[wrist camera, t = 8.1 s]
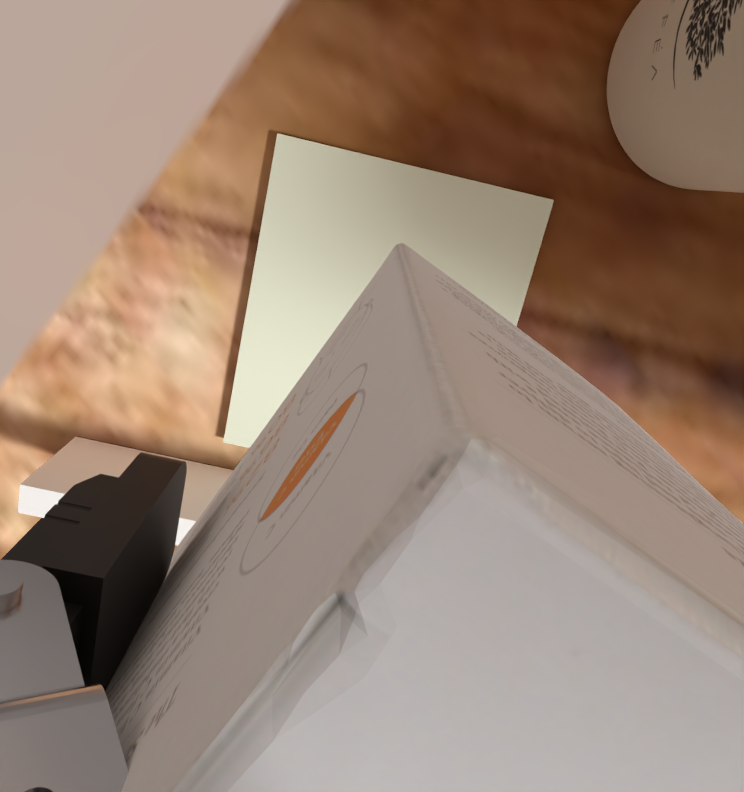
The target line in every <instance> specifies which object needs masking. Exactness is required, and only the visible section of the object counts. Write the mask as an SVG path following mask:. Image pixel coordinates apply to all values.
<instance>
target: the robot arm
mask: <svg viewBox="0 0 744 792" xmlns="http://www.w3.org/2000/svg"><path fill="white" fill-rule="evenodd" d="M186 472H187V464H186V462H185V461H180V460H176V459H171V458H166V457H162V456H157V455H152V454H148V453H143V452H141V453H139V454H138V455H137V457H136V458H135V459H134V460H133V461H132V462H131V464H130V465H129V466H128V467H127V468H126V469H125V471H124V472H123V473H122V474H121V475H120V476H119V477H114V476H109V475H104V474H99V475H96V476H94V477H92V478H89V479H87V480H84V481H82V482H80V483H77V484H75V485H74V486H73V487H72V488H71V489H70V490H69V491H68V492H67V493H66V494H65V495H64V496H63V497H62V498H61V499H60V500H59V501H58V504H55V505H54V506H53V507H52V508H51V509H50V510H49V511H48V512H47V513H46V514H45V517H44V518H41V519H40V520H39V521H38V522H37V523H36V524H35V525H34V526H33V527H32V528H31V529H30V530H29V531H28V532H27V534H26V535H25V536H24V537H23V538H22V539H21V540H20V541H19V542H18V543H17V544H16V545H15V546H14V547H13V548H12V549H11V550H10V551H9V552H8V553H7V554H6V555H5V556H4V557H3V558H2V559H1V560H0V792H121V791H122V789H123V786H124V783H125V780H126V778H127V775H128V769H127V765H126V762H125V758H124V755H123V751H122V748H121V744H120V741H119V737H118V734H117V730H116V727H115V723H114V720H113V716H112V713H111V709H110V706H109V702H108V699H107V696H106V693H105V690H106V688H107V686H108V685H109V683H110V681H111V679H112V677H113V675H114V673H115V672H116V670H117V668H118V666H119V664H120V662H121V661H122V659H123V657H124V655H125V653H126V651H127V649H128V648H129V646H130V644H131V642H132V640H133V638H134V636H135V635H136V633H137V631H138V629H139V627H140V625H141V623H142V622H143V620H144V618H145V616H146V614H147V612H148V610H149V609H150V607H151V605H152V603H153V601H154V599H155V597H156V596H157V594H158V592H159V590H160V588H161V586H162V584H163V582H164V580H165V578H166V575H167V573H168V570H169V567H170V564H171V560H172V556H173V552H174V548H175V542H176V536H177V530H178V524H179V517H180V511H181V505H182V499H183V492H184V486H185V480H186Z"/></svg>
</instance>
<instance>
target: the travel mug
mask: <svg viewBox="0 0 744 792" xmlns="http://www.w3.org/2000/svg"><path fill="white" fill-rule="evenodd" d="M607 103H608V110H609V115H610V120H611V123H612V126H613V129H614V132H615V134H616V136H617V138H618V141H619V142H620V144H621V146H622V148H623V149H624V151H625V152H626V153H627V155H628V156H629V157H630V158H631V160H632V161H633V162H634V163H635V164H636V165H637V166H638V167H639V168H641V169H642V170H643V171H644V172H646V173H647V174H648V175H650V176H651V177H653V178H655V179H657V180H659V181H661V182H663V183H665V184H668V185H671V186H674V187H678V188H683V189H691V190H706V191H724V192H741V193H744V0H641V1H640V2H639V3H638V5H637V6H636V7H635V9H634V10H633V11H632V13H631V14H630V16H629V17H628V19H627V20H626V22H625V24H624V26H623V28H622V30H621V32H620V34H619V36H618V38H617V41H616V43H615V46H614V49H613V52H612V56H611V60H610V64H609V70H608V76H607Z"/></svg>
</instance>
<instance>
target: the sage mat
mask: <svg viewBox="0 0 744 792" xmlns="http://www.w3.org/2000/svg"><path fill="white" fill-rule="evenodd" d="M553 202H554V200H552V199H548V198H544V197H539V196H535V195H531V194H527V193H523V192H519V191H515V190H510V189H506V188H502V187H498V186H494V185H490V184H486V183H481V182H477V181H473V180H469V179H465V178H461V177H457V176H452V175H448V174H444V173H440V172H436V171H432V170H428V169H423V168H419V167H415V166H411V165H407V164H403V163H399V162H394V161H390V160H386V159H382V158H378V157H374V156H370V155H365V154H361V153H357V152H353V151H349V150H345V149H341V148H336V147H332V146H328V145H324V144H320V143H316V142H312V141H307V140H303V139H299V138H295V137H291V136H287V135H283V134H278V133H277V138H276V144H275V149H274V155H273V161H272V167H271V172H270V178H269V184H268V189H267V195H266V201H265V207H264V212H263V218H262V224H261V229H260V235H259V241H258V246H257V252H256V258H255V264H254V269H253V275H252V281H251V286H250V292H249V298H248V304H247V309H246V315H245V321H244V326H243V332H242V338H241V344H240V349H239V355H238V361H237V366H236V372H235V378H234V384H233V389H232V395H231V401H230V406H229V412H228V418H227V424H226V429H225V435H224V441H223V442H224V443H229V444H233V445H238V446H243V447H247V448H250V447H251V445H252V444H253V443H254V441H255V440H256V439H257V437H258V436H259V434H260V433H261V432H262V430H263V429H264V427H265V426H266V425H267V423H268V422H269V420H270V419H271V418H272V416H273V415H274V414H275V412H276V411H277V409H278V408H279V407H280V405H281V404H282V402H283V401H284V400H285V398H286V397H287V396H288V394H289V393H290V391H291V390H292V389H293V387H294V386H295V384H296V383H297V382H298V380H299V379H300V378H301V376H302V375H303V373H304V372H305V371H306V369H307V368H308V366H309V365H310V364H311V362H312V361H313V360H314V358H315V357H316V355H317V354H318V353H319V351H320V350H321V348H322V347H323V346H324V344H325V343H326V342H327V340H328V339H329V337H330V336H331V335H332V333H333V332H334V331H335V329H336V328H337V326H338V325H339V324H340V322H341V321H342V319H343V318H344V317H345V315H346V314H347V312H348V311H349V310H350V308H351V307H352V306H353V304H354V303H355V301H356V300H357V299H358V297H359V296H360V295H361V293H362V292H363V291H364V289H365V288H366V286H367V285H368V284H369V282H370V281H371V279H372V278H373V277H374V275H375V274H376V273H377V271H378V270H379V268H380V267H381V266H382V264H383V263H384V261H385V260H386V258H387V257H388V255H389V254H390V252H391V251H392V249H393V248H394V247H395V246H396V245H397V244H400V243H403V244H405V245H407V246H408V247H410V248H411V249H412V250H414V251H415V252H416V253H418V254H419V255H420V256H422V257H423V258H424V259H426V260H427V261H428V262H430V263H431V264H433V265H434V266H435V267H437V268H438V269H439V270H441V271H442V272H444V273H445V274H446V275H448V276H449V277H450V278H452V279H453V280H454V281H456V282H457V283H459V284H460V285H461V286H463V287H464V288H465V289H467V290H468V291H469V292H471V293H472V294H473V295H475V296H476V297H477V298H479V299H480V300H481V301H483V302H484V303H485V304H487V305H488V306H489V307H491V308H492V309H494V310H495V311H496V312H498V313H499V314H500V315H502V316H503V317H504V318H506V319H507V320H508V321H510V322H511V323H512V324H513V325H515V326H517V323H518V320H519V316H520V313H521V310H522V306H523V303H524V300H525V296H526V293H527V289H528V286H529V283H530V279H531V276H532V273H533V269H534V266H535V263H536V259H537V256H538V253H539V249H540V246H541V242H542V239H543V236H544V232H545V229H546V226H547V222H548V219H549V216H550V212H551V209H552V206H553Z"/></svg>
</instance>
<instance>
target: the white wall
mask: <svg viewBox="0 0 744 792" xmlns="http://www.w3.org/2000/svg"><path fill="white" fill-rule="evenodd" d="M141 452H143V453H148V454H152V455H157V456H162V457H166V458H171V459H176V460H180V461H185V462H186V464H187V472H186V480H185V486H184V492H183V499H182V505H181V511H180V517H179V524H178V530H177V536H176V542H175V545H179V544H180V542H181V541H182V539H183V538H184V537H185V535H186V534H187V533H188V531H189V530H190V529H191V528H192V526H193V525H194V524H195V522H196V521H197V520H198V518H199V517H200V516H201V514H202V513H203V511H204V510H205V509H206V507H207V506H208V505H209V503H210V502H211V501H212V499H213V498H214V496H215V495H216V494H217V492H218V491H219V490H220V488H221V487H222V486H223V484H224V483H225V481H226V480H227V479H228V477H229V476H230V475H231V473H232V472H233V470H230V469H226V468H221V467H216V466H212V465H207V464H202V463H197V462H193V461H188V460H183V459H179V458H174V457H169V456H165V455H160V454H155V453H151V452H146V451H141V450H137V449H132V448H127V447H122V446H118V445H113V444H108V443H104V442H99V441H94V440H90V439H85V438H80V437H74V438H73V439H72V440H71V441H70V442H69V443H68V444H66V445H65V446H64V447H63V448H62V449H61V450H59V451H58V452H57V453H56V454H55V455H54V456H53V457H51V458H50V459H49V460H48V461H47V462H46V463H44V464H43V465H42V466H41V467H40V468H39V469H38V470H36V471H35V472H34V473H33V474H32V475H31V476H29V477H28V478H27V479H26V480H25V481H24V482H23V483H21V484H20V493H19V506H18V513H23V514H27V515H32V516H37V517H42V518H44V517H45V514H46V513H47V512H48V511H49V510H50V509H51V508H52V507H53V506H54V505H55V504H58V501H59V500H60V499H61V498H62V497H63V496H64V495H65V494H66V493H67V492H68V491H69V490H70V489H71V488H72V487H73V486H74V485H75V484H77V483H80V482H82V481H84V480H87V479H89V478H92V477H94V476H96V475H99V474H104V475H109V476H114V477H119V476H120V475H121V474H122V473H123V472H124V471H125V469H126V468H127V467H128V466H129V465H130V464H131V462H132V461H133V460H134V459H135V458H136V457H137V455H138V454H139V453H141Z"/></svg>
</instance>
